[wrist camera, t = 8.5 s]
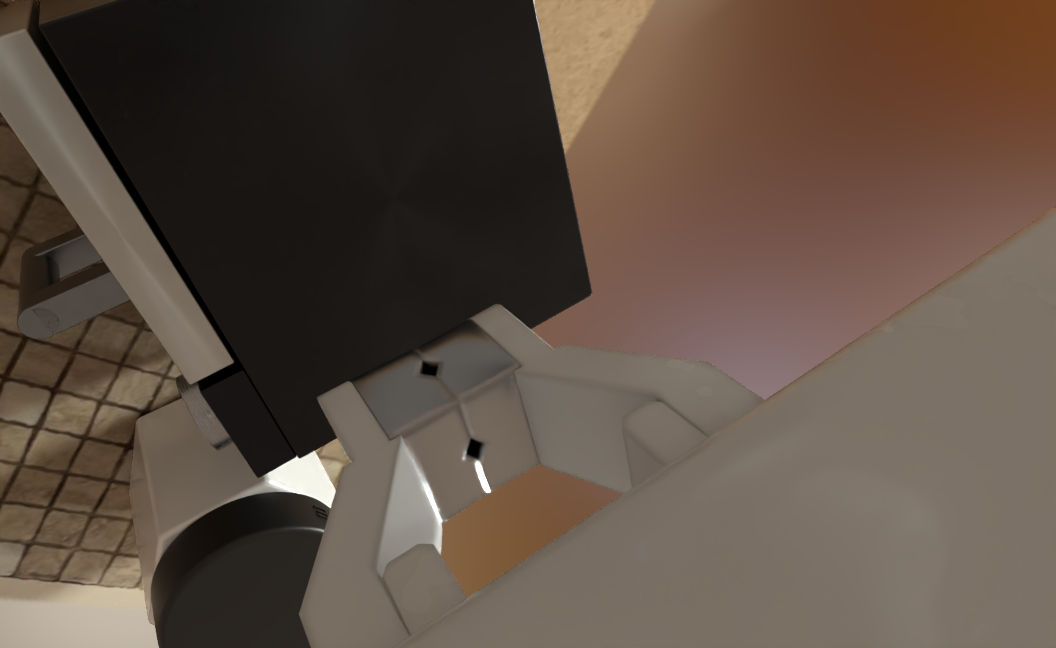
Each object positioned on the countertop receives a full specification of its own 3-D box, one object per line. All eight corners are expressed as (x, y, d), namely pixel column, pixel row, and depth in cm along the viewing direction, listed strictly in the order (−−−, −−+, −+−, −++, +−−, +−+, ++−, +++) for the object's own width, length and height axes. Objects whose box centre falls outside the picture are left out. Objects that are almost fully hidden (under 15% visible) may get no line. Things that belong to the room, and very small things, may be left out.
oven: (188, 350, 35) (238, 494, 26) (-30, 16, 26) (-71, 58, 17) (470, 214, 40) (593, 294, 31) (374, -105, 31) (510, -122, 22)
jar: (279, 509, 42) (344, 666, 33) (122, 527, 37) (147, 717, 28) (304, 375, 39) (383, 507, 30) (136, 377, 34) (170, 535, 25)
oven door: (69, 300, 31) (79, 442, 22) (-124, 46, 24) (-217, 106, 16) (184, 248, 33) (236, 362, 24) (32, -3, 26) (25, 27, 17)
